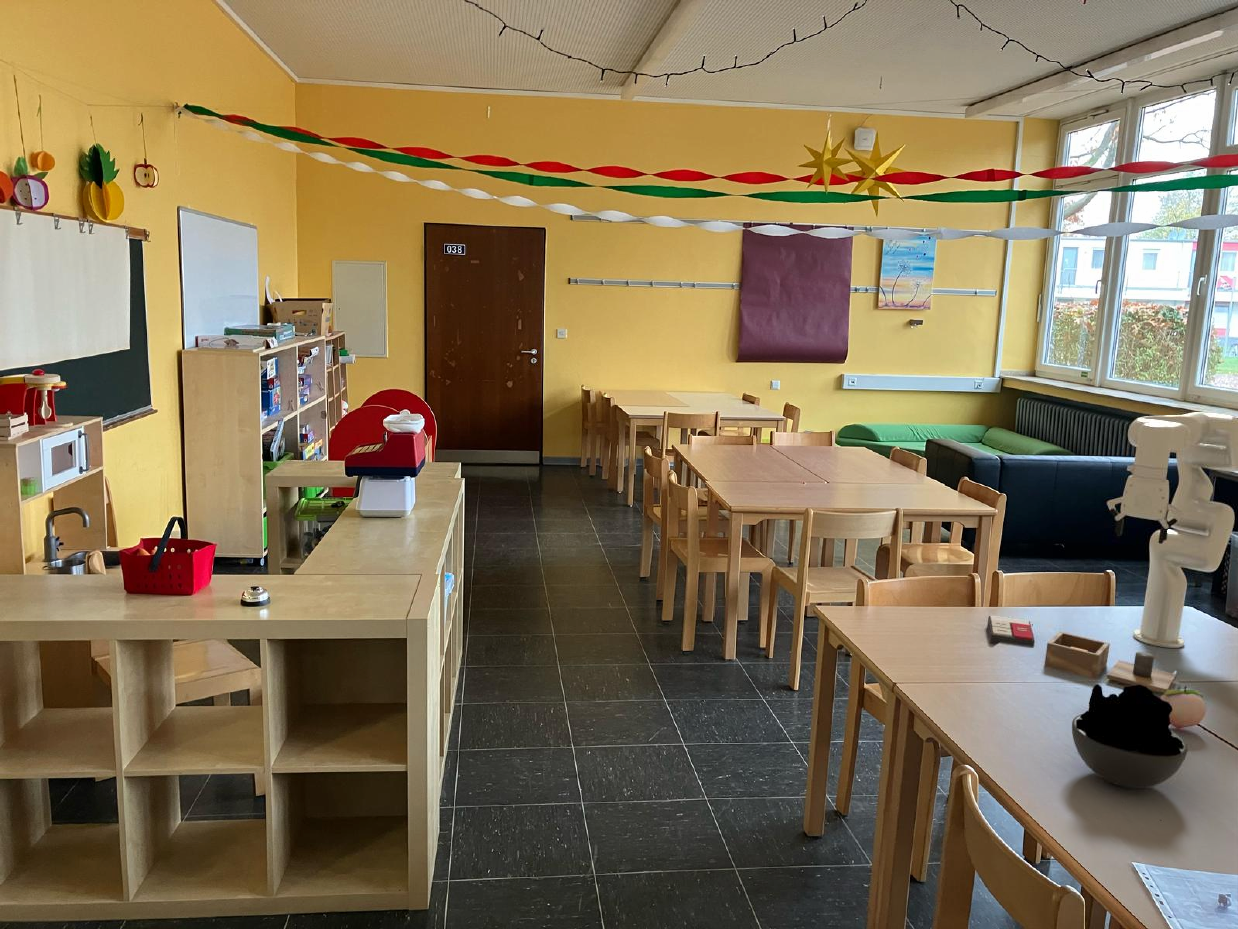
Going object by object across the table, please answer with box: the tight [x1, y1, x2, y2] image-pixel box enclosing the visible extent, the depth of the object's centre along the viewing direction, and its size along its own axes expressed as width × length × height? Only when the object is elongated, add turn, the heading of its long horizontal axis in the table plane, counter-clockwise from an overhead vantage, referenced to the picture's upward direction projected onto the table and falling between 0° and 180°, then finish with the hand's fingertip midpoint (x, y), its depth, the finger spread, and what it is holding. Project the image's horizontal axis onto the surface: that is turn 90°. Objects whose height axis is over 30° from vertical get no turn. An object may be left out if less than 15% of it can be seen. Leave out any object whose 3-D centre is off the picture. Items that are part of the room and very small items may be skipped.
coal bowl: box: [1071, 683, 1189, 789], centre depth 193 cm, size 20×20×19 cm
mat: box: [1100, 670, 1181, 698], centre depth 244 cm, size 15×15×1 cm
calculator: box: [986, 615, 1035, 647], centre depth 275 cm, size 11×4×15 cm
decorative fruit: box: [1161, 685, 1207, 730], centre depth 219 cm, size 9×8×10 cm
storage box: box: [1044, 631, 1111, 680], centre depth 253 cm, size 12×12×7 cm
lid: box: [1106, 651, 1177, 693], centre depth 244 cm, size 13×13×7 cm
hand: (1139, 539), depth 254 cm, fingers open, 9 cm apart
